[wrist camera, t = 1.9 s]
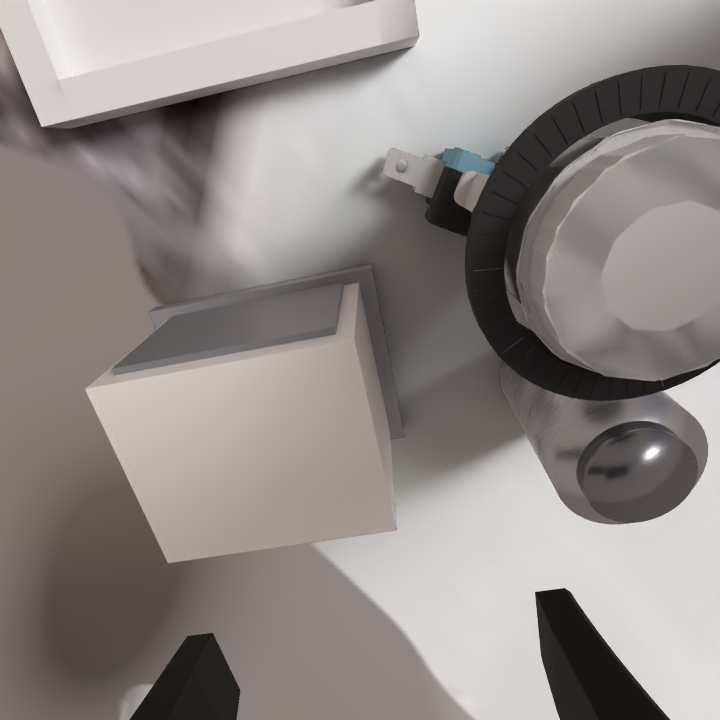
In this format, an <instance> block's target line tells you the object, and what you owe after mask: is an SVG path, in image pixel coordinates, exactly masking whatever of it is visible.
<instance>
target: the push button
mask: <svg viewBox="0 0 720 720" xmlns="http://www.w3.org/2000/svg"><path fill="white" fill-rule="evenodd" d="M624 118H635V119H640V120H644V121H648V122H651V123H650V124H646V125H642V126H638V127H635V128H631V129H627V130H623V131H619V132H617V133H615V134H613V135H611V136H609V137H607V138H602V139H581V138H583V137H585V136H586V135H588V134H590V133H592V132H593V131H595V130H597V129H599V128H601V127H603V126H606V125H608V124H610V123H612V122H615V121H618V120H621V119H624ZM580 139H581V140H580ZM505 149H506V150H507V151H506V152H505V153H504V155H503V156H502V157H501V159H500V160H499V161H498V163H497V164H496V163H493V162H490V161H488V160H485V159H483V158H481V156H479V155H476V154H473V153H471V152H468V151H465V150H463V149H460V148H454V149H445V152H444V154H443V157H442V160H440V159H437V158H434V157H432V156H429V155H425V154H424V157H423V159H421V158H419V157H416V156H413V155H411V154H408V153H406V152H403V151H400V150H398V149H395V148H391V149H389V151H388V154H387V157H386V160H385V163H384V166H383V169H382V171H383V173H384V175H385V176H388V177H390V178H393V179H396V180H399V181H401V182H404V183H407V184H409V185H412V186H413V187H412V190H414V192H416V193H418V194H421V195H424V196H426V197H427V199H426V202H427V203H428V204H429V206H428V208H427V211H426V214H425V218H426V219H427V221H428V222H430V223H431V224H433V225H436V226H438V227H441V228H444V229H447V230H449V231H452V232H455V233H458V234H460V235H463V236H466V237H467V243H466V251H465V277H466V285H467V291H468V297H469V300H470V304H471V307H472V311H473V313H474V315H475V318H476V320H477V322H478V325H479V326H480V328H481V330H482V332H483V333H484V335H485V337H486V339H487V340H488V342H489V344H490V345H491V346H492V348H493V349H494V350H495V352H496V353H497V354H498V356H499V357H500V358H501V359H502V360H503V361H504V362H505V363H506V364H507V365H508V366H509V367H510V368H511V369H513V370H514V371H515V372H516V373H517V374H519V375H520V376H522V377H523V378H525V379H526V380H528V381H529V382H531V383H533V384H535V385H537V386H539V387H541V388H543V389H545V390H548V391H550V392H553V393H556V394H558V395H562V396H566V397H570V398H576V399H582V400H593V401H614V400H625V399H632V398H638V397H642V396H647V395H651V394H654V393H657V392H660V391H664V390H667V389H669V388H672V387H674V386H677V385H679V384H682V383H684V382H686V381H688V380H690V379H692V378H694V377H696V376H698V375H700V374H701V373H703V372H704V371H706V370H708V369H709V368H711V367H713V366H714V365H716V364H717V363H718V362H720V71H718V70H713V69H709V68H705V67H697V66H688V65H666V66H657V67H650V68H643V69H639V70H635V71H631V72H627V73H623V74H619V75H616V76H612V77H610V78H607V79H604V80H602V81H599V82H596V83H593V84H591V85H589V86H587V87H585V88H583V89H581V90H579V91H577V92H575V93H573V94H571V95H570V96H568V97H566V98H565V99H563V100H562V101H560V102H558V103H557V104H555V105H554V106H553V107H551V108H550V109H549V110H547V111H546V112H545V113H543V114H542V115H541V116H539V117H538V118H537V119H536V120H535V121H534V122H533V123H532V124H531V125H530V126H528V127H527V128H526V129H525V130H524V131H523V132H522V133H521V134H520V136H519V137H518V138H517V139H516V140H515V141H514V142H513V143H512V144H511V146H510V147H506V148H505ZM401 159H404V160H405V161H406V162H407V168H406V170H405V171H404V172H401V173H400V172H397V171H396V168H395V166H396V163H397V162H398V161H399V160H401ZM505 280H506V283H507V286H508V289H509V291H510V292H511V293H512V294H513V295H514V296H515V297H516V298H517V299H518V301H519V302H520V303H521V304H522V307H523V312H524V316H525V318H526V320H527V322H528V324H529V326H530V328H531V329H532V330H533V331H531V330H529V329H527V328H526V327H524V326H523V325H521V324H520V323H518V322H517V321H516V318H515V316H514V314H513V312H512V310H511V307H510V304H509V301H508V298H507V292H506V287H505Z"/></svg>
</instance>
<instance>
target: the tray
mask: <svg viewBox="0 0 720 720" xmlns="http://www.w3.org/2000/svg"><path fill="white" fill-rule="evenodd" d="M0 28H1V31H2V33H3V35H4V38H5V40H6V43H7V45H8V47H9V50H10V52H11V54H12V57H13V59H14V62H15V64H16V66H17V69H18V71H19V74H20V76H21V78H22V81H23V83H24V86H25V88H26V90H27V93H28V95H29V98H30V100H31V102H32V105H33V107H34V110H35V112H36V114H37V117H38V119H39V122H40V124H41V126H42V127H51V128H68V129H72V128H76V127H80V126H84V125H88V124H92V123H96V122H101V121H105V120H109V119H113V118H117V117H121V116H126V115H130V114H134V113H138V112H142V111H146V110H151V109H155V108H159V107H163V106H167V105H171V104H175V103H180V102H184V101H188V100H192V99H196V98H200V97H205V96H209V95H213V94H217V93H221V92H225V91H230V90H234V89H238V88H242V87H246V86H250V85H254V84H259V83H263V82H267V81H271V80H275V79H279V78H284V77H288V76H292V75H296V74H300V73H304V72H309V71H313V70H317V69H321V68H325V67H329V66H334V65H338V64H342V63H346V62H350V61H354V60H358V59H363V58H367V57H371V56H375V55H379V54H383V53H388V52H392V51H396V50H400V49H404V48H408V47H413V46H415V44H416V42H417V39H418V37H419V30H418V23H417V15H416V8H415V0H0Z"/></svg>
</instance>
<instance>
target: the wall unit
mask: <svg viewBox="0 0 720 720" xmlns="http://www.w3.org/2000/svg"><path fill="white" fill-rule="evenodd" d="M149 315H150V317H151V320H152V322H153V325H154V327H155V330H154V331H152V332H151V333H150V334H149V335H148V336H147V337H145V338H144V339H143V340H142V341H141V342H139V343H138V344H137V345H136V346H135V347H134V348H133V349H131V350H130V351H129V352H128V353H127V354H126V355H124V356H123V357H122V358H121V359H120V360H118V361H117V362H116V363H115V364H114V365H113V366H111V367H110V368H109V369H108V370H107V371H105V372H104V373H103V374H102V375H101V376H100V377H98V378H97V379H96V380H95V381H94V382H93V383H91V384H90V385H89V386H88V387H87V388H86V389H85V390H86V392H87V394H88V397H89V399H90V401H91V403H92V405H93V407H94V409H95V411H96V413H97V415H98V418H99V419H100V422H101V424H102V426H103V428H104V430H105V432H106V434H107V436H108V438H109V441H110V443H111V445H112V447H113V449H114V451H115V453H116V455H117V457H118V459H119V462H120V463H121V466H122V468H123V470H124V472H125V474H126V476H127V478H128V480H129V482H130V484H131V487H132V489H133V490H134V493H135V495H136V497H137V499H138V501H139V503H140V506H141V508H142V509H143V512H144V514H145V516H146V518H147V520H148V522H149V524H150V526H151V528H152V531H153V533H154V535H155V537H156V539H157V541H158V543H159V545H160V547H161V549H162V551H163V554H164V556H165V558H166V560H167V562H168V563H173V562H180V561H186V560H193V559H201V558H207V557H214V556H222V555H228V554H235V553H242V552H249V551H256V550H263V549H270V548H277V547H284V546H290V545H298V544H305V543H311V542H318V541H325V540H332V539H339V538H346V537H353V536H360V535H367V534H374V533H381V532H387V531H394V530H397V525H396V510H395V496H394V482H393V468H392V454H391V440H390V439H395V438H401V437H404V431H403V425H402V420H401V415H400V410H399V404H398V399H397V394H396V389H395V384H394V379H393V374H392V369H391V364H390V359H389V354H388V348H387V343H386V338H385V333H384V328H383V323H382V318H381V313H380V308H379V303H378V297H377V292H376V287H375V282H374V277H373V272H372V267H371V264H369V265H364V266H359V267H354V268H349V269H344V270H339V271H334V272H329V273H324V274H319V275H314V276H308V277H303V278H298V279H293V280H288V281H283V282H278V283H273V284H268V285H263V286H258V287H253V288H248V289H243V290H238V291H233V292H228V293H223V294H218V295H213V296H208V297H203V298H198V299H193V300H188V301H183V302H178V303H173V304H168V305H163V306H158V307H155V308H153V309H152V310H151V311H149Z"/></svg>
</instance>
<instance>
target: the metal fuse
mask: <svg viewBox="0 0 720 720" xmlns="http://www.w3.org/2000/svg"><path fill="white" fill-rule="evenodd" d="M531 331H533V330H532V329H531ZM500 383H501V388H502V391H503V393H504V395H505V397H506V399H507V401H508V402H509V404H510V406H511V408H512V410H513V412H514V413H515V415H516V417H517V419H518V421H519V423H520V425H521V426H522V428H523V430H524V432H525V434H526V436H527V438H528V439H529V441H530V443H531V445H532V447H533V449H534V451H535V452H536V454H537V456H538V458H539V460H540V462H541V463H542V465H543V467H544V469H545V471H546V473H547V475H548V476H549V478H550V480H551V482H552V484H553V486H554V488H555V489H556V491H557V493H558V495H559V497H560V499H561V500H562V501H563V503H564V504H565V505H566V506H567V507H568V508H569V509H570V510H571V511H573V512H574V513H576V514H577V515H579V516H581V517H583V518H585V519H588V520H590V521H594V522H598V523H604V524H628V523H634V522H642V521H647V520H651V519H654V518H657V517H659V516H662V515H664V514H666V513H668V512H669V511H671V510H672V509H674V508H675V507H677V506H678V505H679V504H680V503H681V502H682V501H683V500H684V499H685V498H686V497H687V496H688V495H689V493H690V492H691V490H692V489H693V488H694V486H695V485H696V483H697V482H698V480H699V479H700V477H701V475H702V473H703V471H704V468H705V465H706V462H707V456H708V443H707V438H706V435H705V432H704V430H703V428H702V427H701V425H700V423H699V422H698V421H697V420H696V419H695V417H693V416H692V415H691V414H690V413H689V412H687V411H686V410H685V409H684V408H683V407H681V406H680V405H679V404H678V403H677V402H675V401H674V400H673V399H672V398H671V397H669V396H668V395H667V394H666V393H665V392H663V391H660V392H657V393H654V394H651V395H647V396H642V397H638V398H632V399H625V400H614V401H593V400H582V399H576V398H570V397H566V396H562V395H558V394H556V393H553V392H550V391H548V390H545V389H543V388H541V387H539V386H537V385H535V384H533V383H531V382H529V381H528V380H526V379H525V378H523V377H522V376H520V375H519V374H517V373H516V372H515V371H514V370H513V369H511V368H510V367H509V366H508V365H507V364H506V363H505V362H504V361H503V362H502V365H501V370H500Z"/></svg>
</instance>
